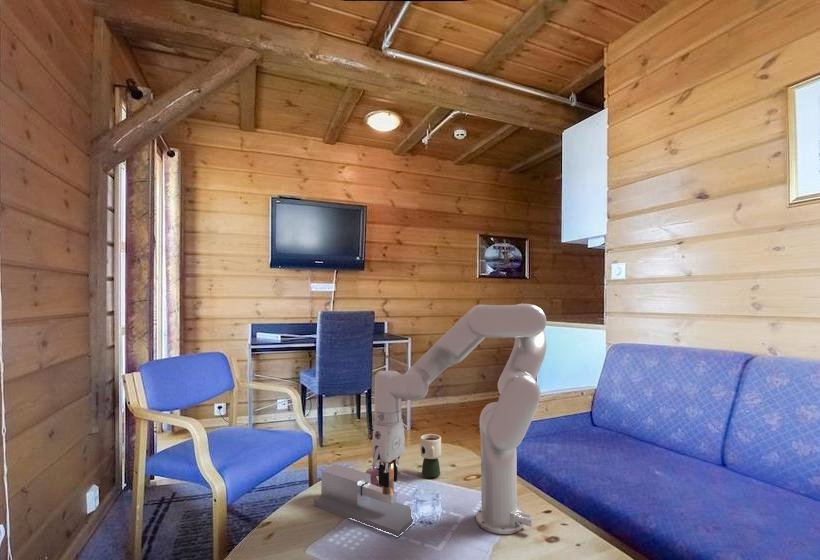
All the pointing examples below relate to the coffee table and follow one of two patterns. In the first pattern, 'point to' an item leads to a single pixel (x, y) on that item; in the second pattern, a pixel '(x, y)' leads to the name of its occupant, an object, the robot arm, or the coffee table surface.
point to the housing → (344, 485)
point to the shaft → (382, 488)
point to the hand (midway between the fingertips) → (388, 482)
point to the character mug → (430, 454)
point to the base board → (372, 513)
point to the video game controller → (373, 475)
